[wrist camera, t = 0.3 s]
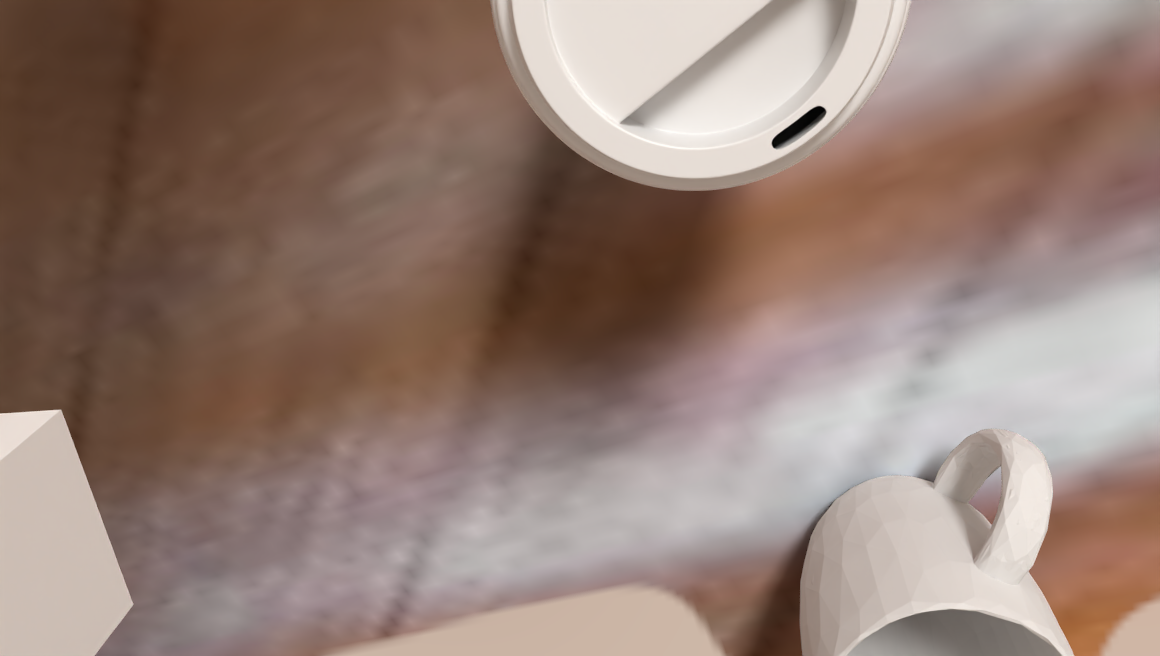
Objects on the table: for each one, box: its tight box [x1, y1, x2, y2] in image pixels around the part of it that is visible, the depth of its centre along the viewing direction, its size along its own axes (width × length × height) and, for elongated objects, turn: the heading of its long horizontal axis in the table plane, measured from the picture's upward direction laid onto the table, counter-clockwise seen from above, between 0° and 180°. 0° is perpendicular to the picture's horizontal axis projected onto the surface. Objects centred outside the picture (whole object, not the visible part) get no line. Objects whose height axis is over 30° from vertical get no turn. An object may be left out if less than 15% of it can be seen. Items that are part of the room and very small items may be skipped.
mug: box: [800, 429, 1074, 656], centre depth 38 cm, size 13×9×10 cm
